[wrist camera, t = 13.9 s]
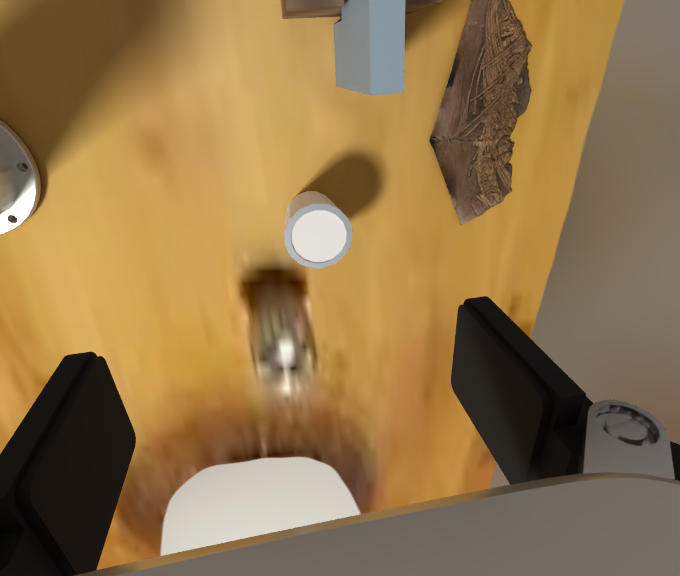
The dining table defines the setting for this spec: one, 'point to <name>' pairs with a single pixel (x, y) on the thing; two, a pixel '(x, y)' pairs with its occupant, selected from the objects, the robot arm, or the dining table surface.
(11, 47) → the dining table surface
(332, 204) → the white topped beige cylinder
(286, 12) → the wood grain block
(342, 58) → the blue-grey notched panel
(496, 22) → the wooden fragment
